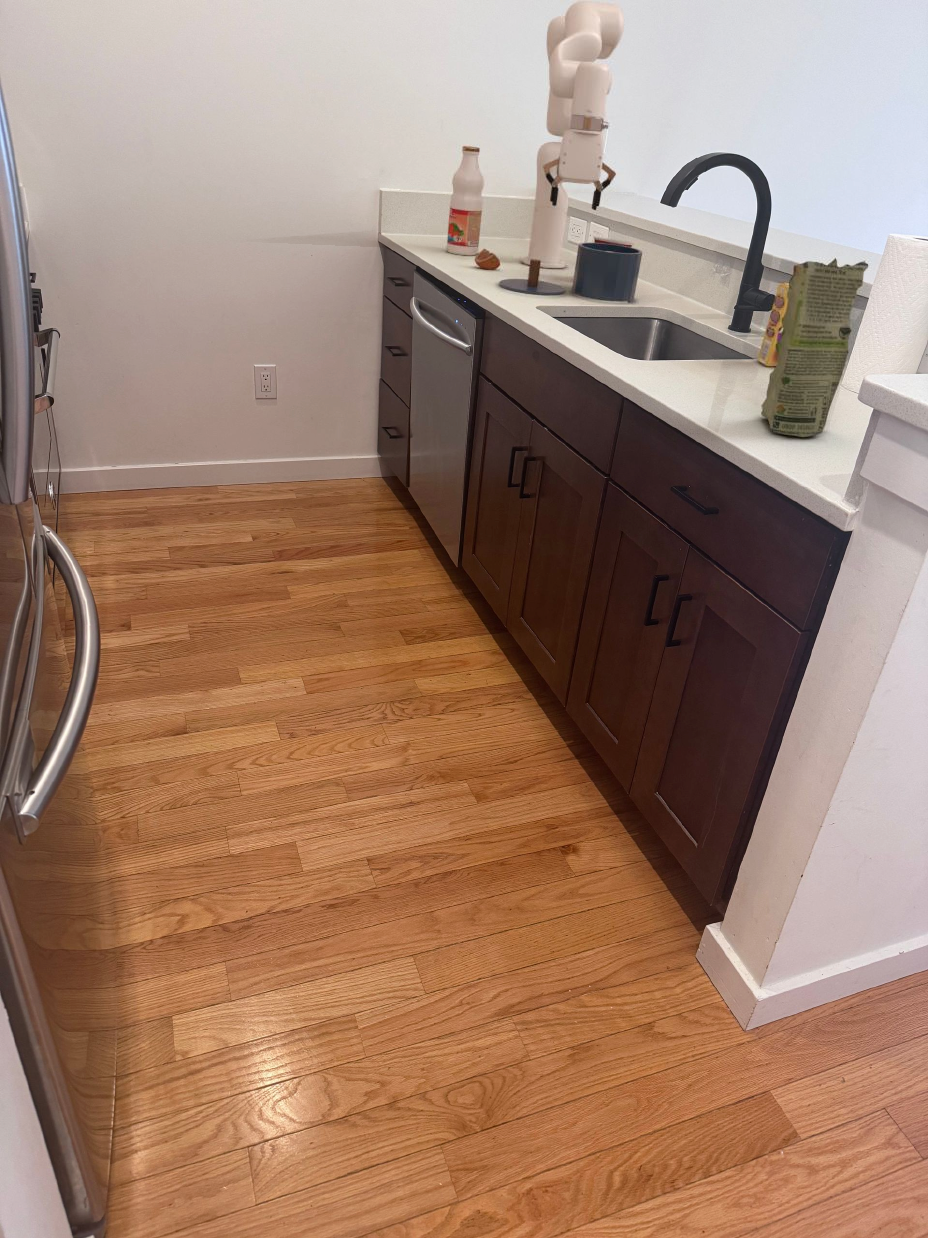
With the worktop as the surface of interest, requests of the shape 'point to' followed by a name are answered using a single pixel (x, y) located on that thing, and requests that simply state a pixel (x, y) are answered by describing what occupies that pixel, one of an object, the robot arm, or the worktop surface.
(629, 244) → the plastic cup
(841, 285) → the pouch
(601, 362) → the worktop surface
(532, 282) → the lid
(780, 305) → the candy box
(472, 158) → the fruit juice
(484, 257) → the fruit slice
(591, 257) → the pot
